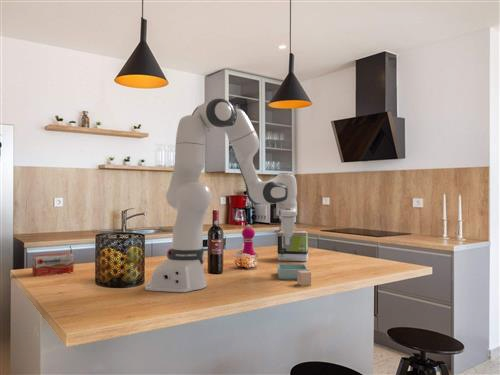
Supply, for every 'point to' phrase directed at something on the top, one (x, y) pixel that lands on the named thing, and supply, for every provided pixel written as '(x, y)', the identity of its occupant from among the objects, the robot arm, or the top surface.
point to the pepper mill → (248, 240)
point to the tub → (290, 271)
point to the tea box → (294, 247)
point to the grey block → (285, 244)
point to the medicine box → (52, 264)
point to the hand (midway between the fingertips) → (286, 243)
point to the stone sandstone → (304, 278)
